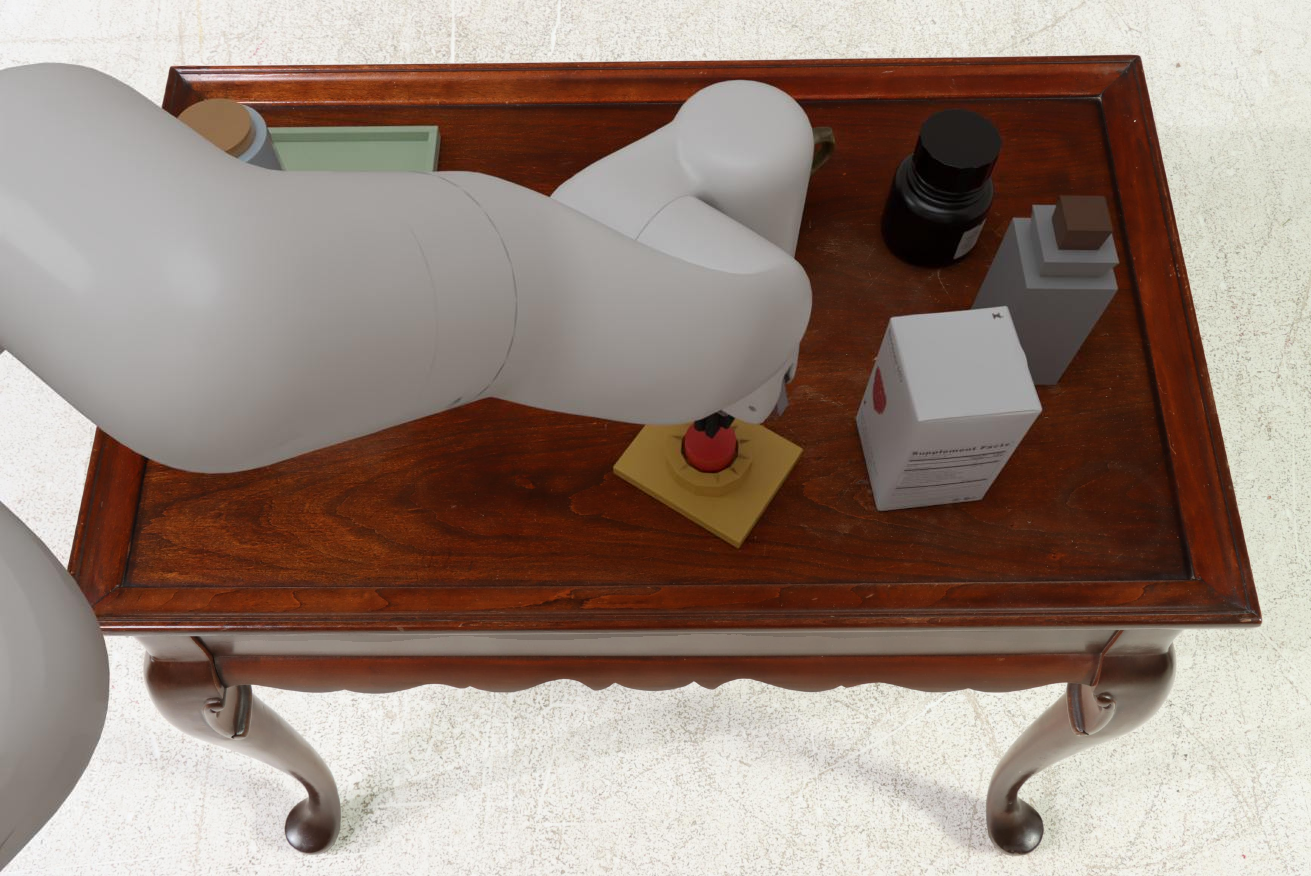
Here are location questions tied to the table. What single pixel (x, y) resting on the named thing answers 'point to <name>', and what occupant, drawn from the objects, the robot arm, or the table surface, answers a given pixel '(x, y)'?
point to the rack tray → (358, 148)
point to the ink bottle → (942, 189)
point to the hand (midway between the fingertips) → (713, 419)
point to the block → (711, 476)
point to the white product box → (944, 407)
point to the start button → (710, 449)
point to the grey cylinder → (234, 131)
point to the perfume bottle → (1054, 280)
